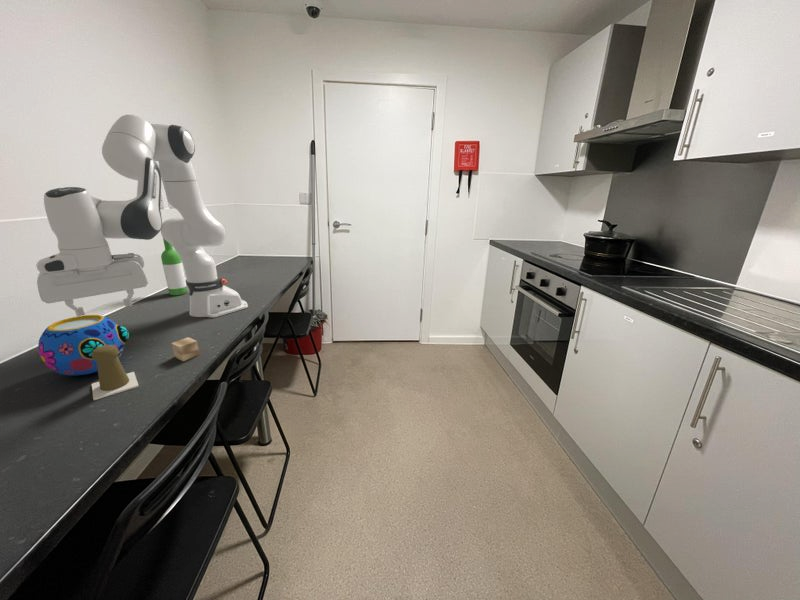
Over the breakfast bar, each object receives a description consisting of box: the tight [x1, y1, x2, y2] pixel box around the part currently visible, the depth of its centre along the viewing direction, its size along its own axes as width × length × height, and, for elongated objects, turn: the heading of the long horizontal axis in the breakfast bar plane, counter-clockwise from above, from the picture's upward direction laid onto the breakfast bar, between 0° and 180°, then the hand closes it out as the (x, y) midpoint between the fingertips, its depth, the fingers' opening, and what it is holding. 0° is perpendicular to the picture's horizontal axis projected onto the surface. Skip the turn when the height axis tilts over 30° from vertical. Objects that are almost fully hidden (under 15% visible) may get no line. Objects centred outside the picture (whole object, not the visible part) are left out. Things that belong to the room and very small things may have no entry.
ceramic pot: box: [37, 314, 130, 376], centre depth 92 cm, size 18×18×15 cm
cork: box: [92, 345, 129, 391], centre depth 85 cm, size 6×6×11 cm
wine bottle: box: [160, 237, 188, 297], centre depth 156 cm, size 8×8×30 cm
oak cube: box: [171, 336, 201, 362], centre depth 102 cm, size 5×5×5 cm
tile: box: [91, 371, 140, 401], centre depth 87 cm, size 9×9×1 cm
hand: (105, 310), depth 84 cm, fingers open, 8 cm apart
